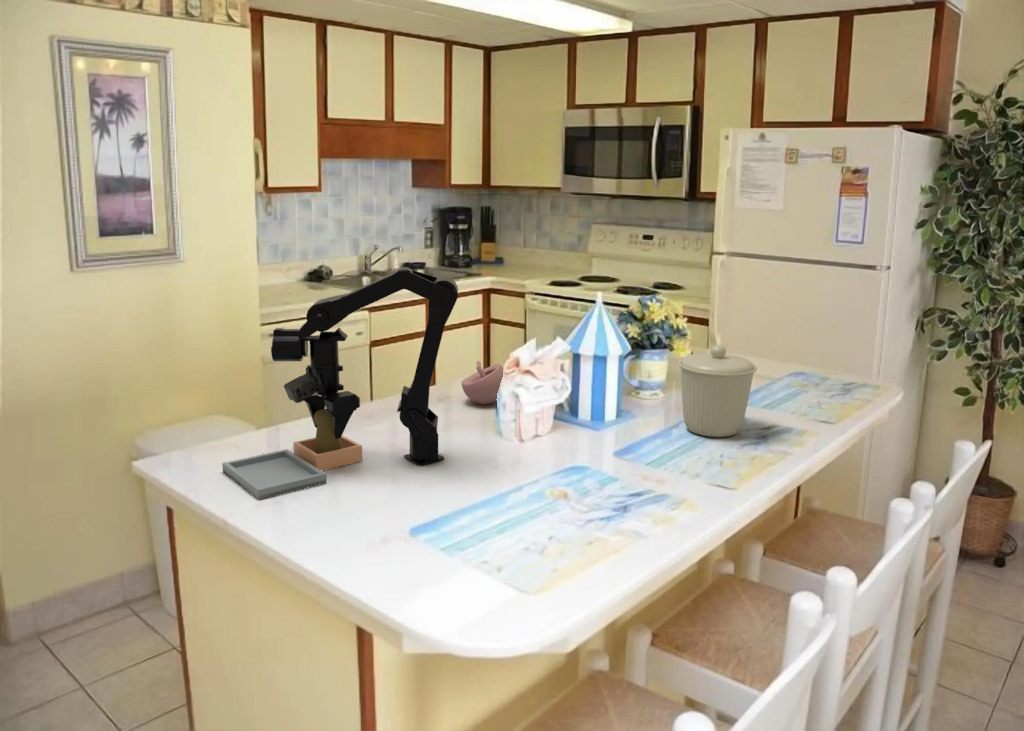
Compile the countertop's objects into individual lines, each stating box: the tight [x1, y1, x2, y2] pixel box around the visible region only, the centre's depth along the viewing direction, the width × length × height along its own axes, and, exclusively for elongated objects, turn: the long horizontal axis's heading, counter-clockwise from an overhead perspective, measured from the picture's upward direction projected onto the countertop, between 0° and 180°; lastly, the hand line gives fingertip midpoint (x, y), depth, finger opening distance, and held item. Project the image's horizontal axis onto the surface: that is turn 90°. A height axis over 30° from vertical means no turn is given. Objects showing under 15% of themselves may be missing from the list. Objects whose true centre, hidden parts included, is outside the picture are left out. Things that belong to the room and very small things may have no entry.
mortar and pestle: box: [461, 360, 504, 405], centre depth 223 cm, size 12×12×12 cm
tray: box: [221, 449, 328, 501], centre depth 171 cm, size 18×14×2 cm
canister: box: [677, 344, 758, 438], centre depth 202 cm, size 18×18×21 cm
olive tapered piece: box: [314, 408, 341, 454], centre depth 180 cm, size 6×6×11 cm
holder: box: [293, 434, 363, 471], centre depth 181 cm, size 11×11×4 cm
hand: (327, 432), depth 180 cm, fingers open, 9 cm apart
